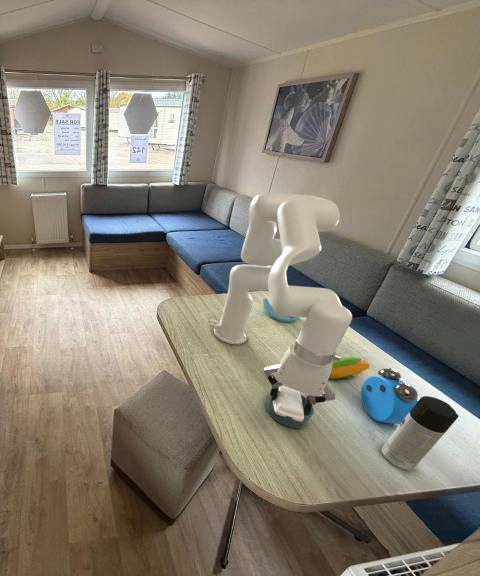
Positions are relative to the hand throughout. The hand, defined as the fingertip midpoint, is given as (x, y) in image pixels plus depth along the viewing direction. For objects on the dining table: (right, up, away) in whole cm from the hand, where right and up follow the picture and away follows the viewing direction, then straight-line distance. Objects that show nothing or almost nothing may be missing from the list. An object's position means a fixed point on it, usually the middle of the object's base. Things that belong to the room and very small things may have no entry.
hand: (288, 403), depth 81 cm
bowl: (+7, -8, +12) cm, 16 cm away
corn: (+36, 0, +28) cm, 46 cm away
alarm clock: (+35, -9, +13) cm, 38 cm away
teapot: (+36, +18, +62) cm, 73 cm away
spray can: (+29, -15, 0) cm, 33 cm away
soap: (0, -1, 0) cm, 1 cm away
